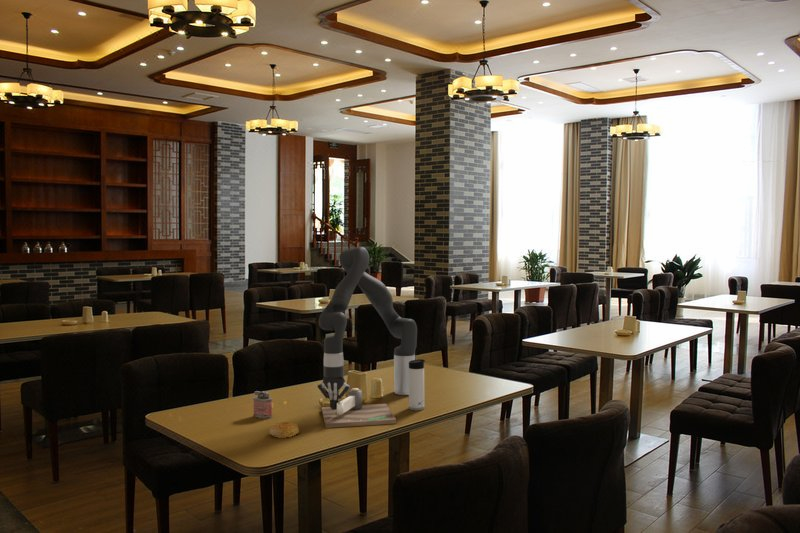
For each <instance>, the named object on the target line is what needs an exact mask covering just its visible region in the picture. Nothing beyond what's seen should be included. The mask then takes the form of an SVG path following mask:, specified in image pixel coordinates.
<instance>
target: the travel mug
mask: <svg viewBox="0 0 800 533" xmlns="http://www.w3.org/2000/svg"><path fill="white" fill-rule="evenodd" d="M425 362H426V359H425V358H423V359H415V360H412V361H410V362H409V395H408V409H409V410H411V411H422V410H424V409H425Z"/></svg>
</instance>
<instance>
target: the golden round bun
mask: <svg viewBox="0 0 800 533" xmlns="http://www.w3.org/2000/svg"><path fill="white" fill-rule="evenodd" d="M299 432H300V428H299V426H298V424H296V423H295V422H288V421H281V422H275V423H273V424H272V425H271V426H270V428H269V434H270V435H271V436H273V437H274V438H276V437H278V438H277V439H287V438H286V437H289V438H293V437H295V436H297V435H298V434H299ZM296 434H297V435H296ZM294 435H295V436H294ZM292 436H293V437H292Z"/></svg>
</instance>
